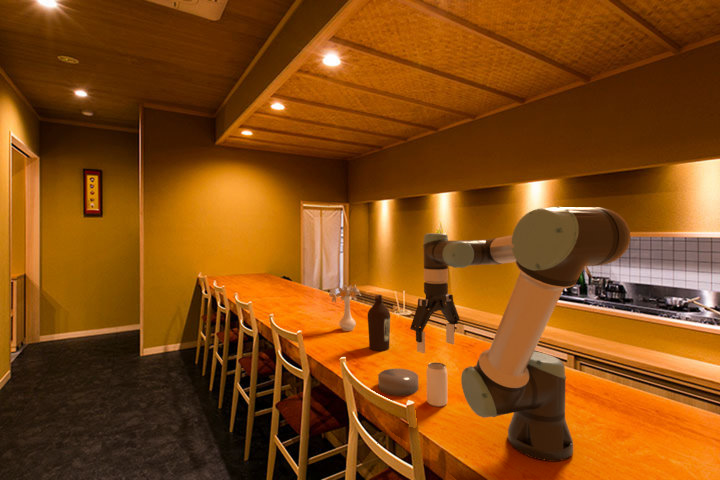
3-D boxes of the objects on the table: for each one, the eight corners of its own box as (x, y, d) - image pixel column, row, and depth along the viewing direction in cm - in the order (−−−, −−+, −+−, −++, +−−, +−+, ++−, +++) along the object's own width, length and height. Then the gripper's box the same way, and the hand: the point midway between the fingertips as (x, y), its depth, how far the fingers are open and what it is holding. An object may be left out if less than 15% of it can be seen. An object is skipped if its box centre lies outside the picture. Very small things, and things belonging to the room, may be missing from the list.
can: (432, 408, 116) (432, 370, 116) (423, 399, 123) (423, 363, 122) (451, 405, 118) (450, 368, 118) (441, 396, 124) (441, 361, 124)
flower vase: (326, 330, 206) (325, 285, 205) (352, 324, 218) (351, 282, 217) (341, 335, 196) (340, 288, 195) (367, 329, 208) (366, 284, 208)
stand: (418, 397, 124) (418, 385, 124) (376, 394, 126) (376, 383, 126) (418, 380, 138) (418, 369, 138) (380, 378, 140) (380, 367, 140)
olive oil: (364, 350, 173) (363, 296, 172) (372, 343, 182) (372, 292, 182) (386, 352, 169) (385, 297, 168) (393, 345, 178) (392, 293, 177)
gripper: (452, 276, 129) (452, 337, 130) (398, 284, 115) (399, 352, 116) (470, 279, 123) (470, 342, 124) (415, 287, 109) (416, 359, 110)
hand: (436, 347), depth 120 cm, fingers open, 13 cm apart
